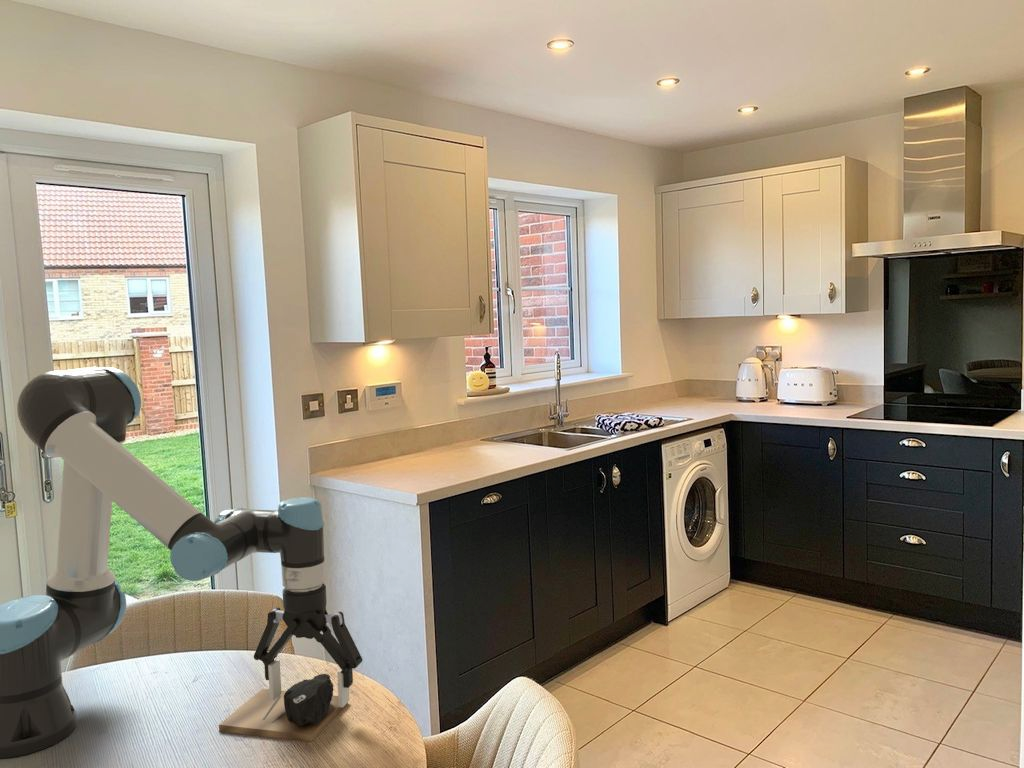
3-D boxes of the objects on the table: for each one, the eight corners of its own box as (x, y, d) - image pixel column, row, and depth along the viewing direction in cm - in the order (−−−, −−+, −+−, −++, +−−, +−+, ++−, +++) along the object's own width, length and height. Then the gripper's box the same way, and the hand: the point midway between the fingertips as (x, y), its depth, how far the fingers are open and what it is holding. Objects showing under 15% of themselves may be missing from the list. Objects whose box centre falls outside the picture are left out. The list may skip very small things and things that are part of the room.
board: (219, 731, 139) (218, 724, 139) (262, 694, 153) (262, 688, 152) (311, 741, 135) (311, 734, 135) (347, 703, 148) (347, 696, 148)
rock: (302, 734, 135) (301, 701, 134) (277, 712, 142) (276, 680, 142) (349, 717, 140) (348, 685, 140) (323, 697, 148) (322, 667, 148)
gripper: (230, 588, 140) (236, 703, 141) (359, 596, 134) (364, 717, 135) (253, 575, 147) (259, 685, 149) (377, 582, 141) (382, 696, 143)
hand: (309, 700), depth 142 cm, fingers open, 13 cm apart
